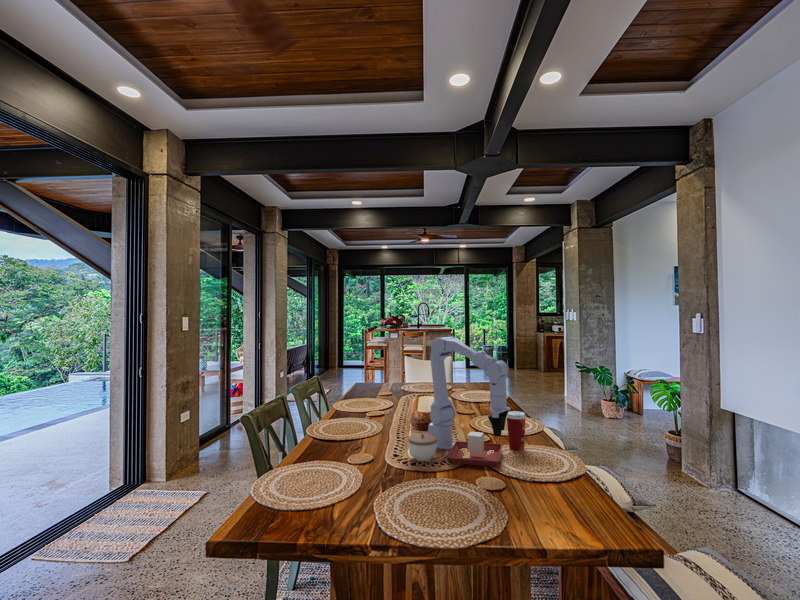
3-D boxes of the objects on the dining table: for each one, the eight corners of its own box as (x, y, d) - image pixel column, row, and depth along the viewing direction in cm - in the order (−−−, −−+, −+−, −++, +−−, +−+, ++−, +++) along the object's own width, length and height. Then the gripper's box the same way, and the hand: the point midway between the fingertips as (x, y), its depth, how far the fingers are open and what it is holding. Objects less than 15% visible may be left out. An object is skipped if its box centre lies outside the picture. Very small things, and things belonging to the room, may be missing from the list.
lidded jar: (427, 466, 140) (426, 439, 141) (402, 460, 147) (402, 434, 147) (443, 457, 149) (442, 432, 149) (419, 451, 155) (418, 427, 156)
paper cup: (529, 452, 152) (528, 415, 152) (509, 452, 152) (508, 415, 153) (523, 445, 160) (522, 410, 160) (504, 445, 160) (503, 410, 160)
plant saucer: (447, 465, 142) (447, 456, 142) (455, 448, 159) (455, 440, 160) (499, 470, 137) (499, 461, 137) (502, 452, 154) (502, 444, 154)
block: (467, 451, 146) (467, 435, 147) (470, 447, 151) (470, 431, 151) (481, 453, 145) (481, 436, 145) (484, 448, 149) (483, 432, 149)
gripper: (506, 399, 135) (507, 440, 135) (512, 391, 149) (513, 428, 148) (485, 398, 138) (486, 438, 138) (493, 390, 151) (494, 426, 151)
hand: (499, 433), depth 143 cm, fingers open, 7 cm apart
